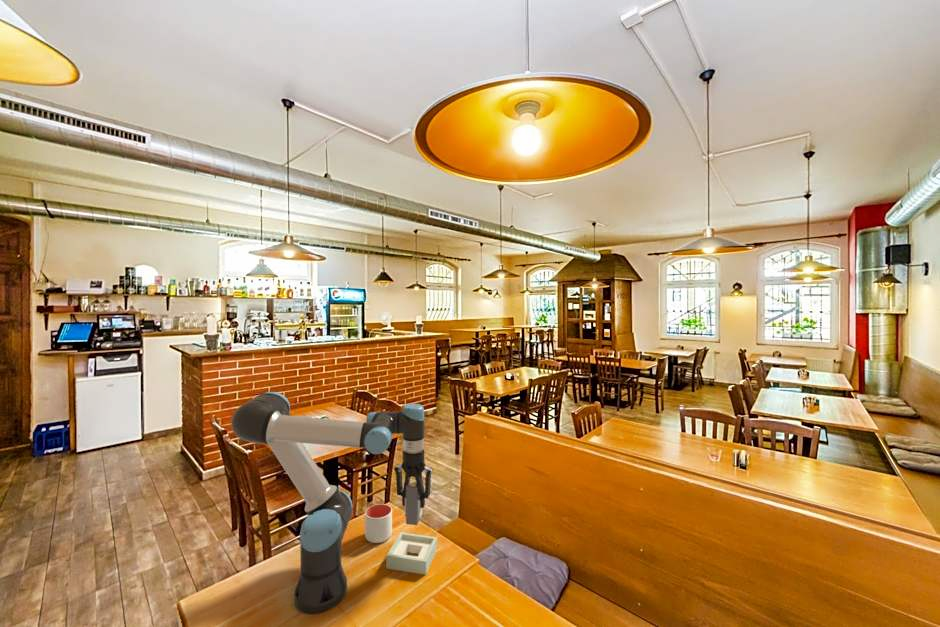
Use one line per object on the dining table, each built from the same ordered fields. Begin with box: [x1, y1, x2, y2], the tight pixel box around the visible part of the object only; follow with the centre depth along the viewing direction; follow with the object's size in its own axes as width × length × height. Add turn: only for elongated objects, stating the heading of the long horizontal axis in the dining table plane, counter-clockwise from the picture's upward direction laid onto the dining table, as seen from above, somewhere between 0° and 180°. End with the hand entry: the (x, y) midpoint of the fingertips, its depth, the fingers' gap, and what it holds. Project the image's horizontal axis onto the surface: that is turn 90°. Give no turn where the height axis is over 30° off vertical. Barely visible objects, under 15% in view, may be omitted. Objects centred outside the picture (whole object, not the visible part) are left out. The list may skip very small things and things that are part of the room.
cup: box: [364, 503, 393, 544], centre depth 145 cm, size 10×10×10 cm
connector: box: [405, 479, 422, 526], centre depth 132 cm, size 4×4×14 cm
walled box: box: [385, 531, 438, 576], centre depth 133 cm, size 14×13×4 cm
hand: (413, 515), depth 132 cm, fingers closed on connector, 4 cm apart
